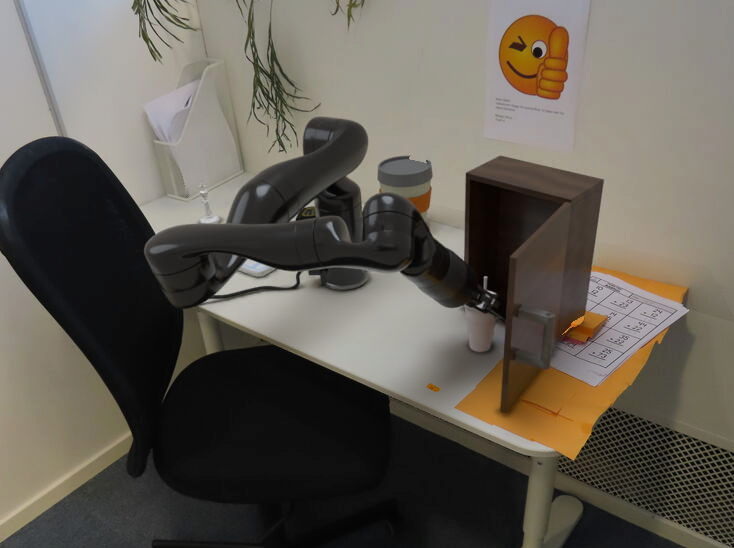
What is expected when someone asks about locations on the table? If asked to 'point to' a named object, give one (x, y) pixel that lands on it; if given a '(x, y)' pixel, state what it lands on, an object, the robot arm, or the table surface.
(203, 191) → the chess piece
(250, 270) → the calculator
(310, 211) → the tape measure
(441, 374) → the table surface
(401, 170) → the reusable coffee cup
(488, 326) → the smoothie
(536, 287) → the cupboard door
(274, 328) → the table surface
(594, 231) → the cupboard
